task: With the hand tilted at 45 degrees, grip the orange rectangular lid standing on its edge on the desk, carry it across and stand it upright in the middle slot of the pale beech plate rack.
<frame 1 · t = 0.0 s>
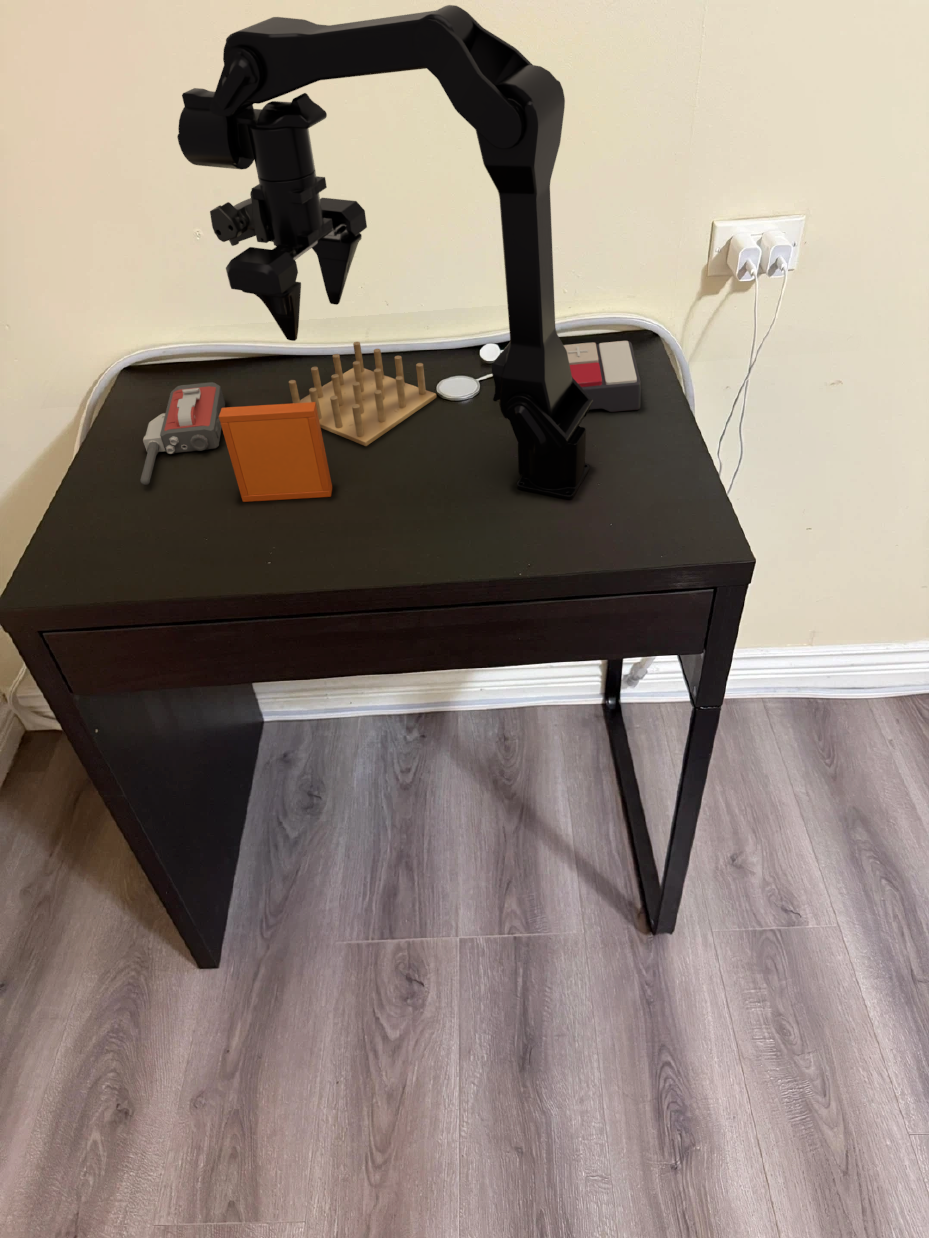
hand: (314, 321, 100), 15 cm above the table, tool pointing down, fingers open, 9 cm apart
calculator: (575, 392, 115), on the table
walkie-talkie: (186, 444, 111), on the table
lid: (287, 494, 102), on the table
rack: (361, 405, 115), on the table
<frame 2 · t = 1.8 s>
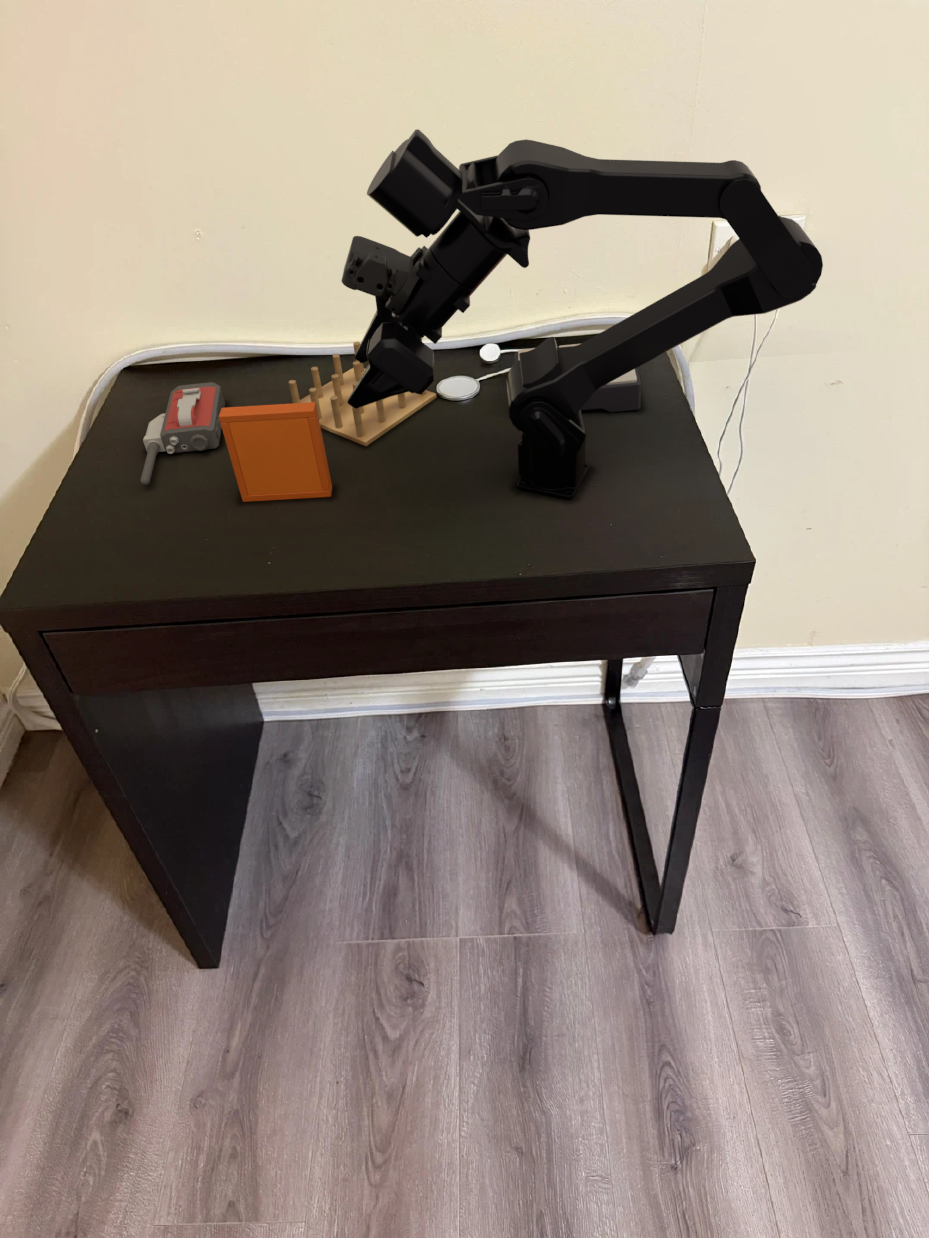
hand: (354, 381, 92), 13 cm above the table, tool tilted 45°, fingers open, 9 cm apart
nothing on the table moved.
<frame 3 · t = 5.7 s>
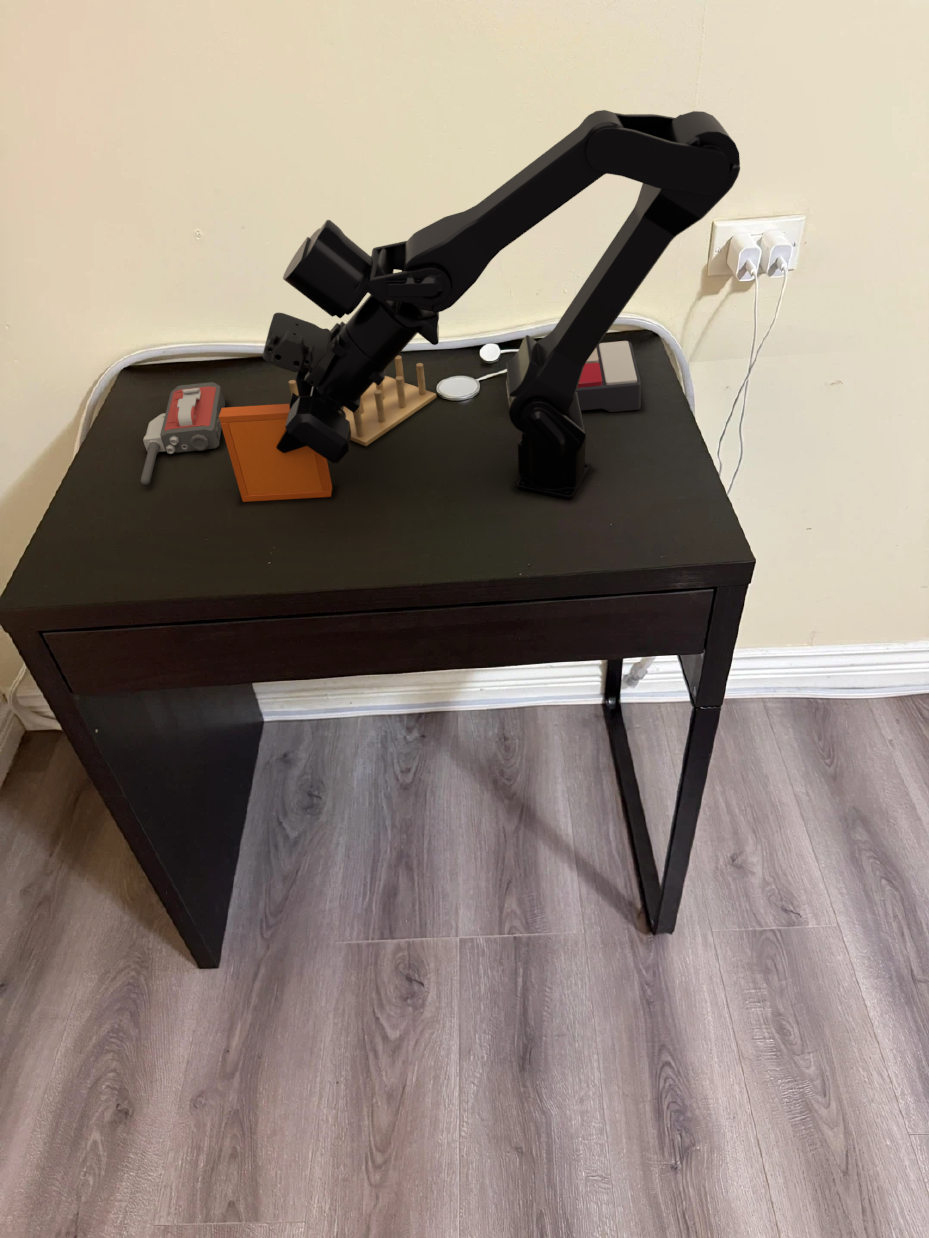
hand: (281, 444, 97), 7 cm above the table, tool tilted 45°, fingers closed on lid, 2 cm apart
lid: (287, 494, 102), on the table, touching gripper
everything else where it was.
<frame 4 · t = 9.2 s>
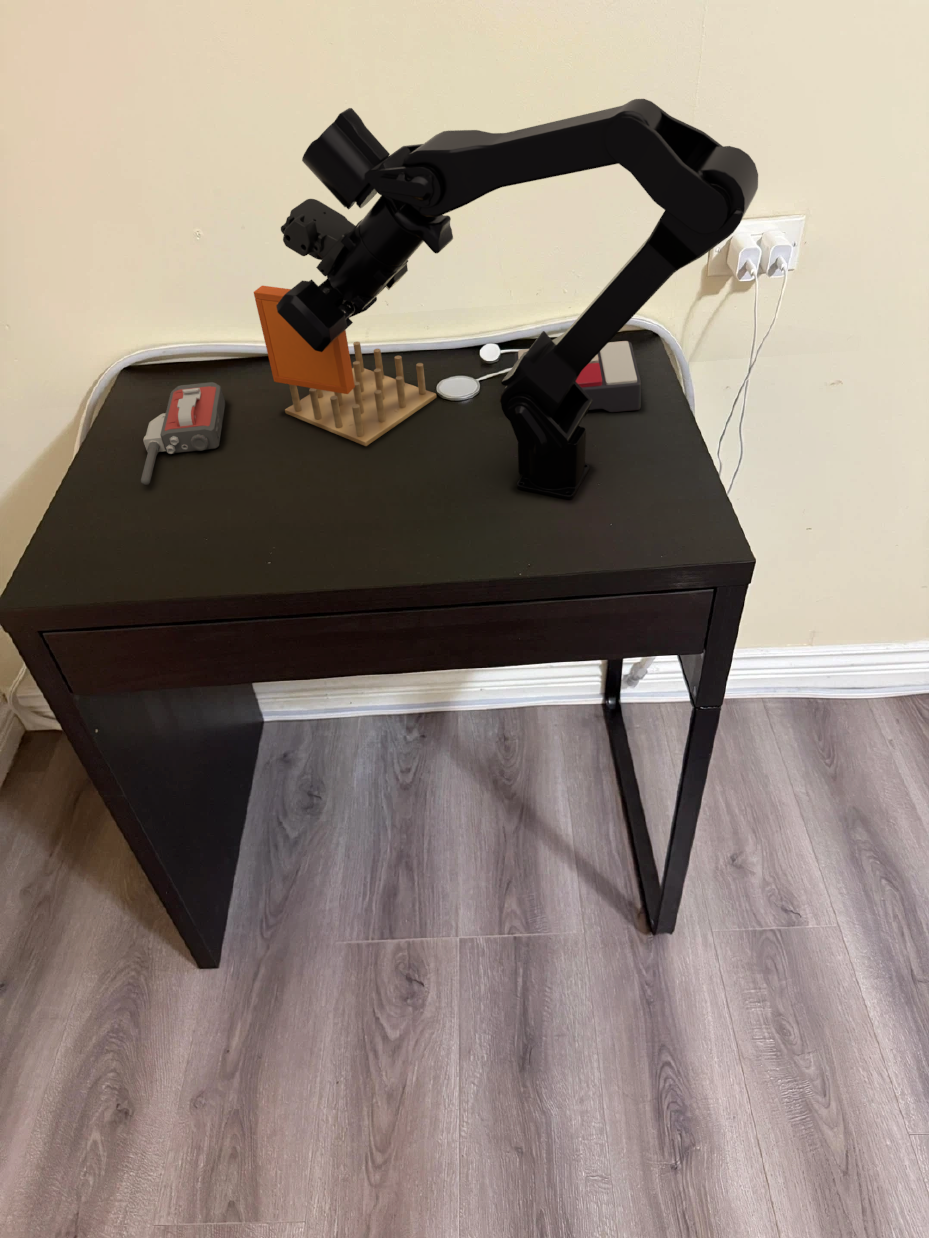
hand: (308, 332, 101), 13 cm above the table, tool tilted 45°, fingers closed on lid
lid: (314, 384, 106), point 7 cm above the table, touching gripper
everything else where it was.
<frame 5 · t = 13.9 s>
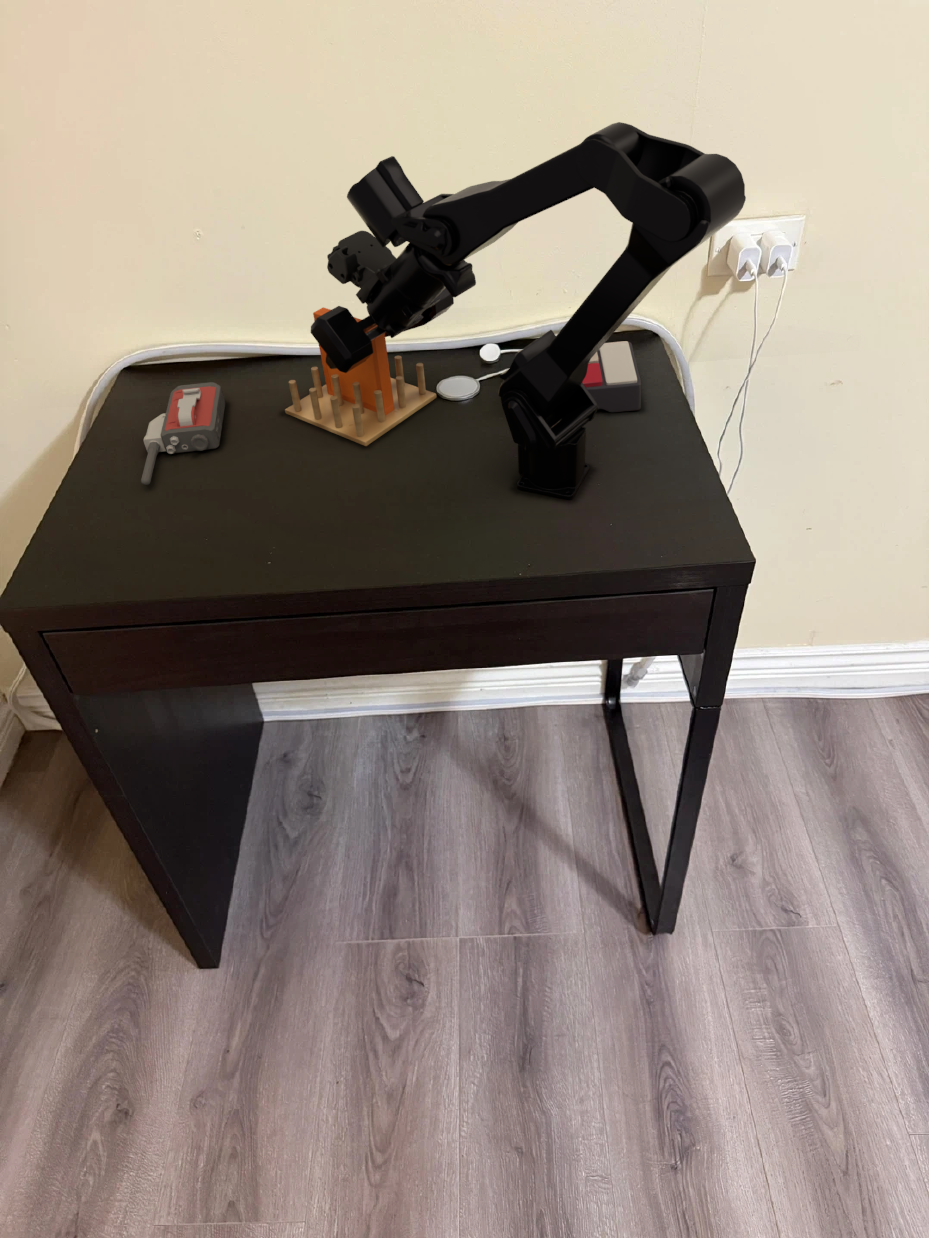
hand: (355, 349, 109), 8 cm above the table, tool tilted 45°, fingers open, 9 cm apart
lid: (360, 401, 115), point 1 cm above the table, touching rack
everything else where it was.
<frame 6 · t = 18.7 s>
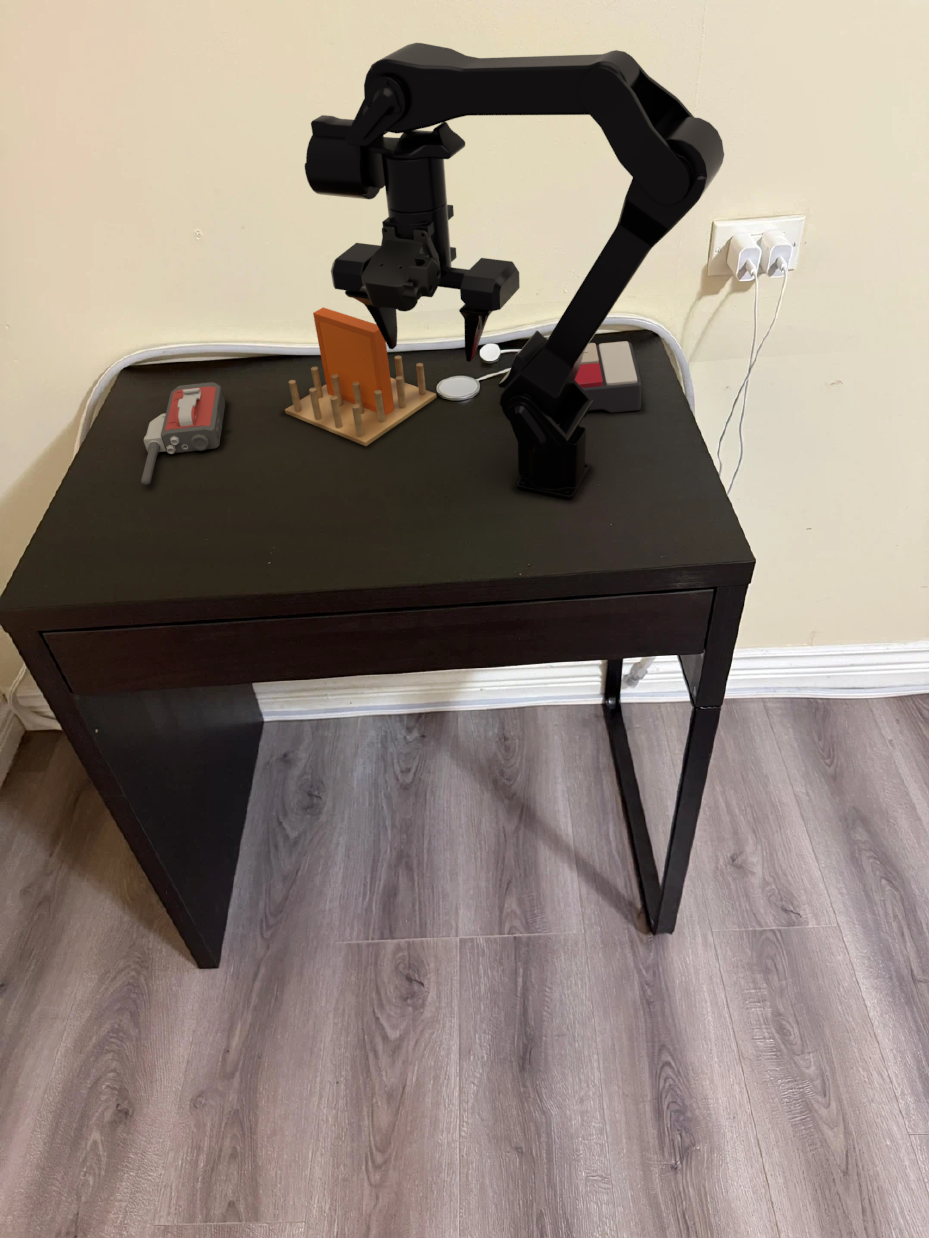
hand: (431, 353, 97), 13 cm above the table, tool pointing down, fingers open, 9 cm apart
nothing on the table moved.
at the end: lid 0.0 cm off-centre on the rack, point 0.6 cm above the rack's base; lid tilted 0°; the gripper is holding nothing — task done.
